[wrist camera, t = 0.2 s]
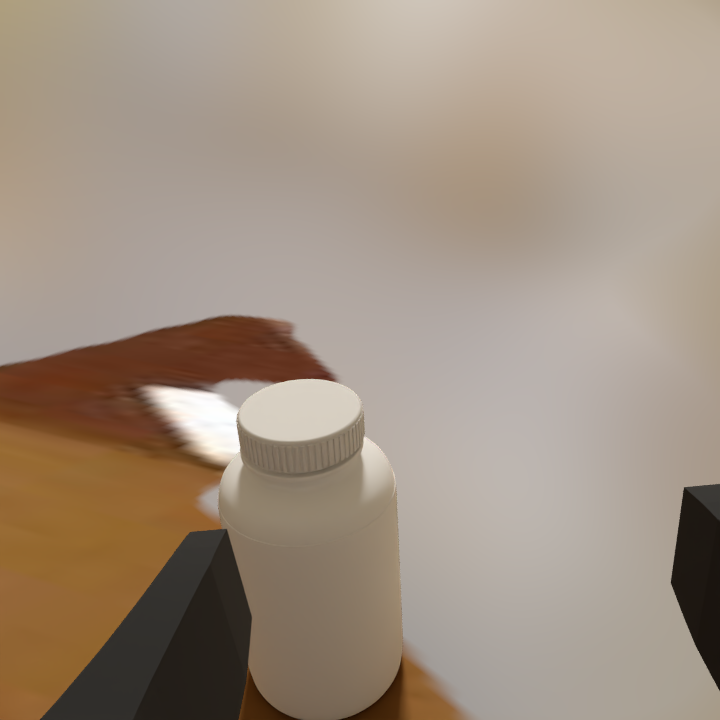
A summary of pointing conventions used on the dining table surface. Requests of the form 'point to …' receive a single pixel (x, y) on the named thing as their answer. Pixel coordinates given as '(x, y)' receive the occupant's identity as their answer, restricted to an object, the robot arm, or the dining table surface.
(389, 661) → the pill bottle
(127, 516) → the dining table surface
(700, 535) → the robot arm
